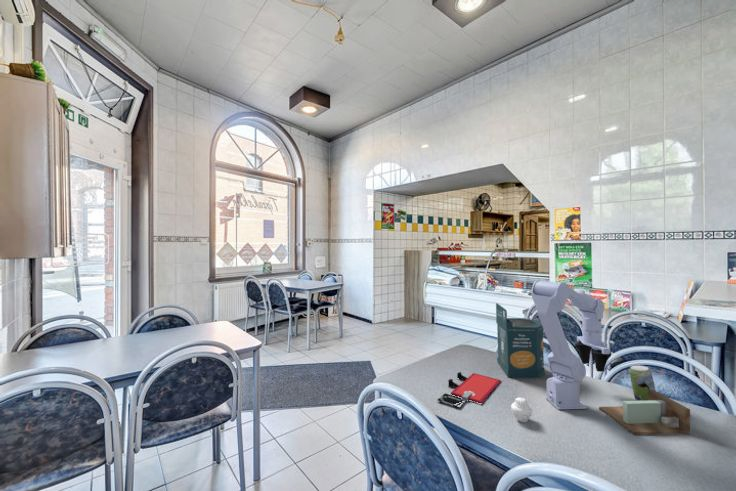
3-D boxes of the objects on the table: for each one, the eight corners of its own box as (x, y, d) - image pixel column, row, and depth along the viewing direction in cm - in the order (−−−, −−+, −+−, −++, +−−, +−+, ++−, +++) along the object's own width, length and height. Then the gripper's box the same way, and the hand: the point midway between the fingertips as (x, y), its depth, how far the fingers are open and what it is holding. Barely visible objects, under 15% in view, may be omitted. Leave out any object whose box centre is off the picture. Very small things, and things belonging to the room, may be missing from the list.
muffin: (523, 427, 96) (523, 404, 96) (506, 417, 101) (506, 396, 101) (537, 421, 99) (536, 399, 99) (519, 412, 104) (519, 391, 104)
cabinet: (634, 434, 91) (633, 410, 91) (599, 409, 105) (598, 388, 105) (690, 433, 91) (689, 409, 91) (647, 408, 105) (647, 387, 105)
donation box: (497, 362, 147) (495, 302, 147) (534, 363, 145) (532, 302, 145) (507, 377, 131) (506, 310, 131) (549, 378, 129) (547, 310, 129)
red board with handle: (432, 401, 114) (473, 415, 104) (432, 393, 114) (473, 406, 104) (465, 373, 137) (500, 383, 127) (465, 367, 137) (500, 376, 127)
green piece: (628, 423, 95) (627, 404, 95) (622, 420, 97) (622, 400, 97) (668, 423, 95) (667, 403, 95) (662, 419, 97) (661, 399, 97)
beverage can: (662, 407, 105) (661, 371, 105) (636, 405, 106) (636, 370, 106) (649, 398, 111) (648, 364, 111) (625, 396, 113) (624, 363, 112)
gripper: (618, 335, 109) (619, 374, 109) (589, 324, 123) (590, 359, 123) (597, 336, 109) (598, 375, 109) (571, 325, 123) (571, 359, 124)
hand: (592, 366), depth 116 cm, fingers open, 7 cm apart
